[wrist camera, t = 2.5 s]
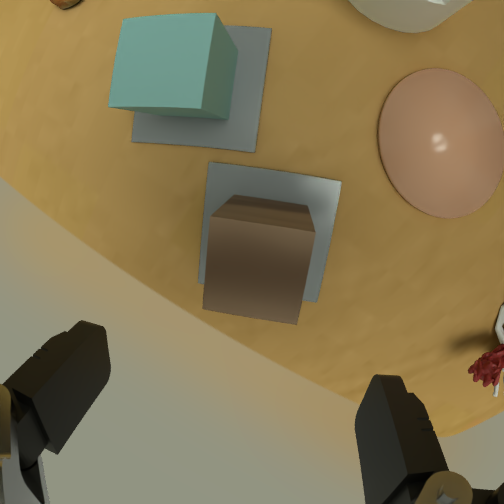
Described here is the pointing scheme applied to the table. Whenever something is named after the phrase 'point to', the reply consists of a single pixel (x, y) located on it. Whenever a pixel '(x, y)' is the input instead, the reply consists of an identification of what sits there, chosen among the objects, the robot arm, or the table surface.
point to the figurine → (491, 360)
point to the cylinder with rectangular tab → (409, 13)
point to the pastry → (64, 3)
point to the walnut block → (258, 258)
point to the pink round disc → (441, 143)
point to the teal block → (174, 66)
